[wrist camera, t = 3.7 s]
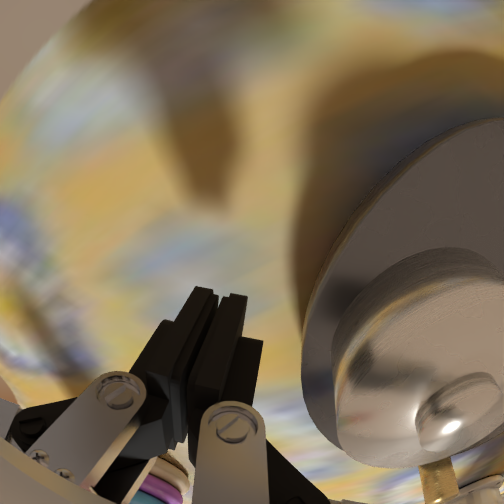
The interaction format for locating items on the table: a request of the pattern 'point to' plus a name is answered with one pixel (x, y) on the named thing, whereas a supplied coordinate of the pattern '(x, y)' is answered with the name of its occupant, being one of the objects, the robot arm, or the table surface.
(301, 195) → the table surface
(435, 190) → the turntable
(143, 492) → the stacking toy
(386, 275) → the cover
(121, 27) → the table surface
